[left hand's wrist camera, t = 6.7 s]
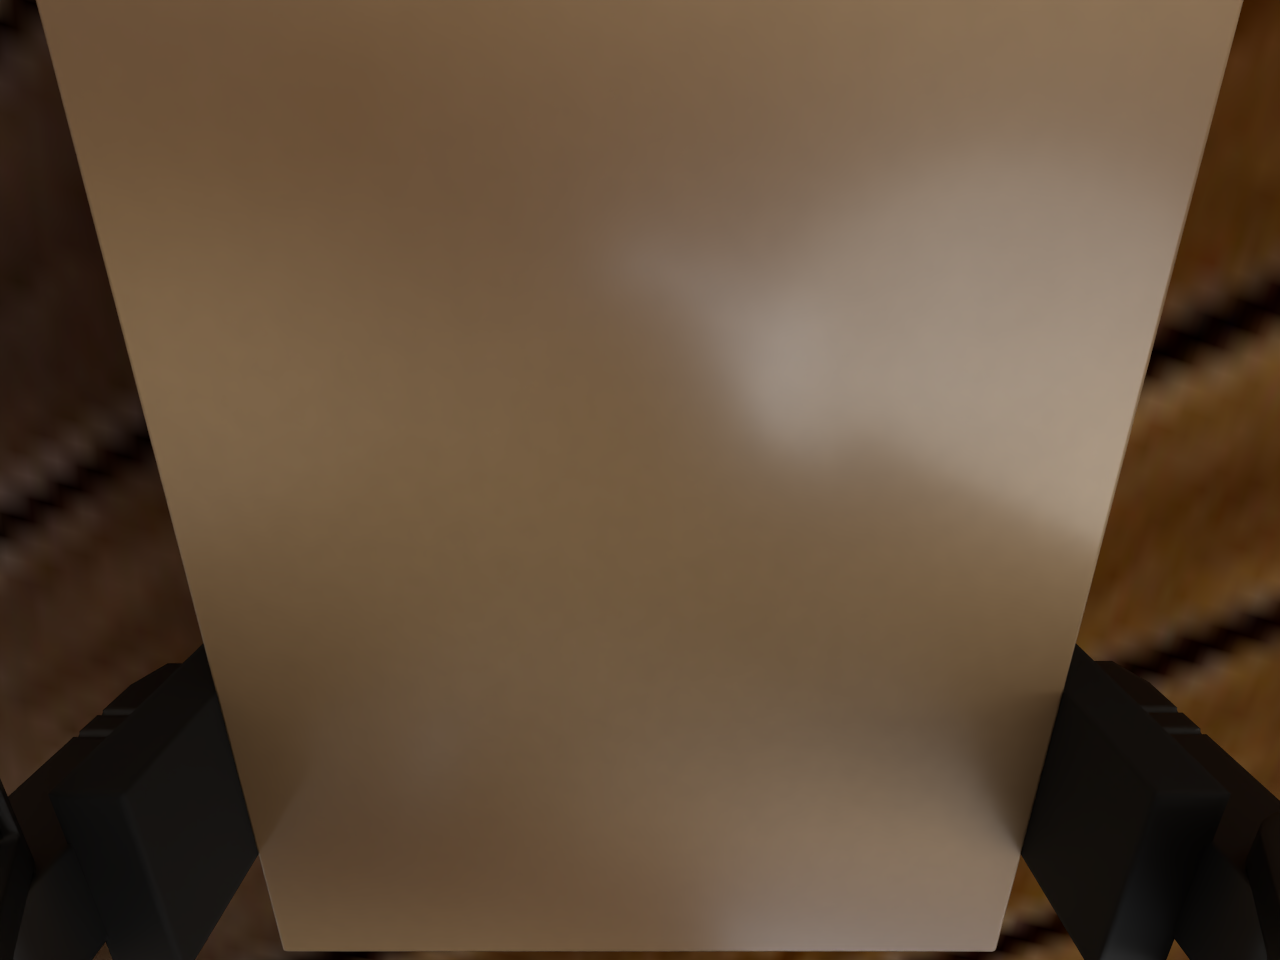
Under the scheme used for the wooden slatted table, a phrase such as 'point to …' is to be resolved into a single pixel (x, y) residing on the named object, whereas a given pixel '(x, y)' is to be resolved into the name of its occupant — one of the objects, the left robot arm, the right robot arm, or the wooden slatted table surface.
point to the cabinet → (639, 434)
